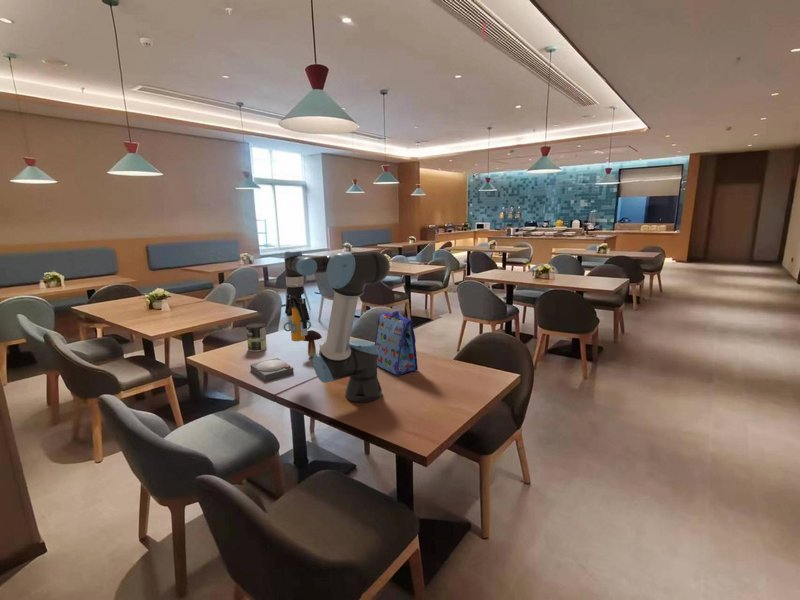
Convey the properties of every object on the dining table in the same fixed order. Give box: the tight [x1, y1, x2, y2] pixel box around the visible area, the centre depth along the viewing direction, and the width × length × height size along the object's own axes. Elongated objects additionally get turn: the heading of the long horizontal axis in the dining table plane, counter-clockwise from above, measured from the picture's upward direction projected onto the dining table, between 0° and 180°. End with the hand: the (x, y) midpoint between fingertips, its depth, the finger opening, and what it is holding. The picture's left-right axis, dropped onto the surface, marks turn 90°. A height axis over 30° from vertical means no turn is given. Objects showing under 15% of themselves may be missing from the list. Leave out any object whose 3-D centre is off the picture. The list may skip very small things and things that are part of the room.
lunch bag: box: [374, 310, 419, 377], centre depth 196 cm, size 22×14×29 cm, turn 37°
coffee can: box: [245, 322, 268, 353], centre depth 226 cm, size 10×10×14 cm
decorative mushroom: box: [303, 329, 323, 358], centre depth 212 cm, size 11×11×15 cm
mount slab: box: [249, 357, 295, 382], centre depth 193 cm, size 18×14×4 cm
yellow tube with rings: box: [283, 307, 312, 342], centre depth 181 cm, size 12×10×15 cm
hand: (297, 332), depth 181 cm, fingers closed on yellow tube with rings, 12 cm apart
